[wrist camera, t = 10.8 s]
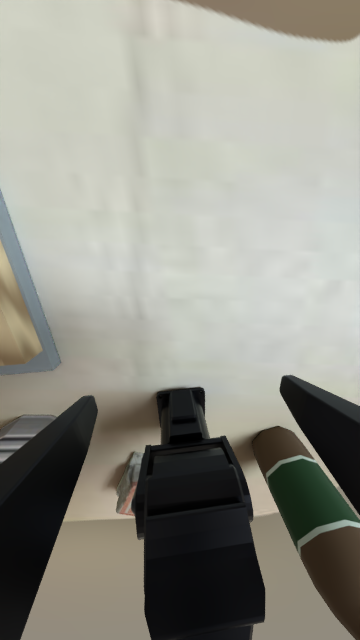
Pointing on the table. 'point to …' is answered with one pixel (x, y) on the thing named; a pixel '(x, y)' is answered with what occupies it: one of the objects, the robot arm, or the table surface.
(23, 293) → the hook board
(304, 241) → the table surface
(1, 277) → the oak loop
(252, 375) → the table surface
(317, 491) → the beer bottle
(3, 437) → the can
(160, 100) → the table surface
